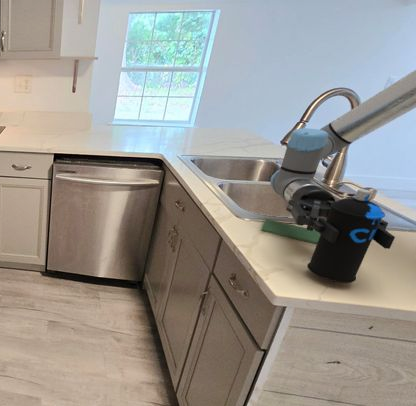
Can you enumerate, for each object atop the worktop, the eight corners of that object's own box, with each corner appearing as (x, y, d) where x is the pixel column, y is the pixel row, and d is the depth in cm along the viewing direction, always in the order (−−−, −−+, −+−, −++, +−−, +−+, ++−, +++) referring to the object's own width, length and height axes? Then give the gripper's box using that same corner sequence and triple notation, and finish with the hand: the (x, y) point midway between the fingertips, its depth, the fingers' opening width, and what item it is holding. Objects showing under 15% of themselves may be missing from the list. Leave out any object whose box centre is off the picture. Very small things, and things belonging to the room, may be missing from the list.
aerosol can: (298, 267, 85) (328, 187, 77) (320, 259, 87) (351, 181, 80) (341, 286, 78) (379, 200, 70) (364, 277, 80) (403, 194, 72)
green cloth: (327, 235, 101) (328, 233, 101) (325, 246, 96) (326, 244, 96) (265, 220, 110) (266, 218, 110) (261, 230, 105) (261, 228, 105)
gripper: (354, 216, 92) (421, 263, 72) (256, 207, 98) (293, 248, 79) (366, 188, 89) (439, 229, 69) (264, 181, 96) (304, 217, 76)
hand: (361, 239), depth 74 cm, fingers closed on aerosol can, 8 cm apart
